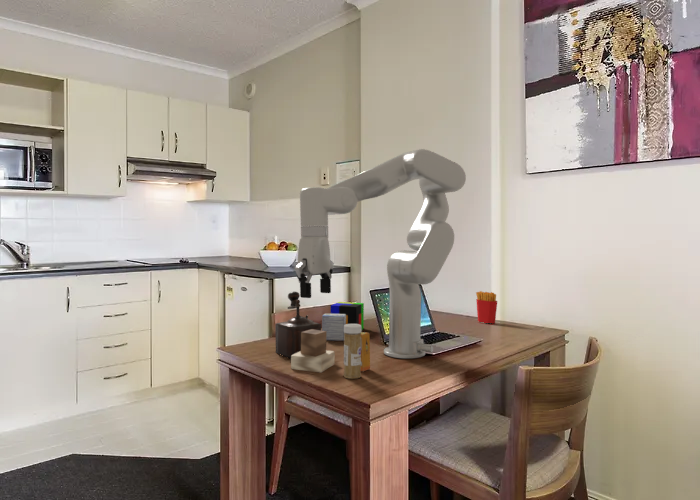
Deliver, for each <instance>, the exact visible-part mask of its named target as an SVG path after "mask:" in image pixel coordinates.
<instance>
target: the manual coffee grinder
mask: <svg viewBox="0 0 700 500" xmlns="http://www.w3.org/2000/svg"><path fill="white" fill-rule="evenodd" d="M299 298H300V292H298V291H291V292H289V293H288V294H287V299H288V300H289V301H290V306H287V310H294V309H295V311H296V314H295V316H293V317H292V318H289V319H288V320H287V321H283V322H277V323H275V325H274V326H275V329H274V330H275V331H274V332H275V334H274V335H275V354H277V353H278V354H277V355H279V354H281V355H280V356H282V355H283V356H282V357H284V356H285V358H287V357H288V359H291V355H293V354H295V353H297V352H299V351H301V332H303V331H307V330H311V329H314V330H321V331H322V323H318V322H315V321H314V320H312V319H309V315H308V314H307V315H306V316H305V317H304V316H302V315H301V314H300V307H301V304H300V303H301V301H300V299H299Z"/></svg>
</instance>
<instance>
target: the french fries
mask: <svg viewBox="0 0 700 500" xmlns="http://www.w3.org/2000/svg"><path fill="white" fill-rule="evenodd" d="M475 294H476V313H477V322H478V321H479V322H484V323H495V324H496V317H497V307H498V300H497V294H496V293H494V292H492V291H491V292H487V291H485V292H484V291H482V290H479V291H477V292H475ZM479 322H478V323H479Z"/></svg>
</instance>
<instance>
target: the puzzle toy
mask: <svg viewBox="0 0 700 500" xmlns="http://www.w3.org/2000/svg"><path fill="white" fill-rule="evenodd" d="M364 305H365V302H364V303H363V302H348V301H347V302H346V301H337V302H336V303H334V304H331V305H330V314H346V324H360V325H361V327H362V330H364V322H365V320H364V318H365V317H364V313H365V309H364V307H365V306H364Z"/></svg>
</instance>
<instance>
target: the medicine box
mask: <svg viewBox="0 0 700 500" xmlns="http://www.w3.org/2000/svg"><path fill="white" fill-rule="evenodd" d="M321 320H322V321H321V331H327V333H326V341H340V342H344V325H345V324H346V314H331V313H324V314H322V316H321Z"/></svg>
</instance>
